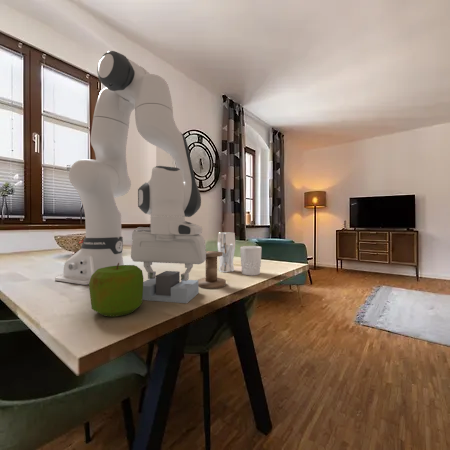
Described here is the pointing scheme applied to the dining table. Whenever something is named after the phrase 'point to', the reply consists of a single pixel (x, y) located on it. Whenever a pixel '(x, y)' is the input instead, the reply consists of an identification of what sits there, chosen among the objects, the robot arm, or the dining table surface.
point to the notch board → (178, 292)
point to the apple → (116, 290)
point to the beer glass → (226, 251)
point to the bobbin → (211, 272)
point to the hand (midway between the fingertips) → (168, 279)
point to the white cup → (250, 260)
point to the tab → (166, 282)
